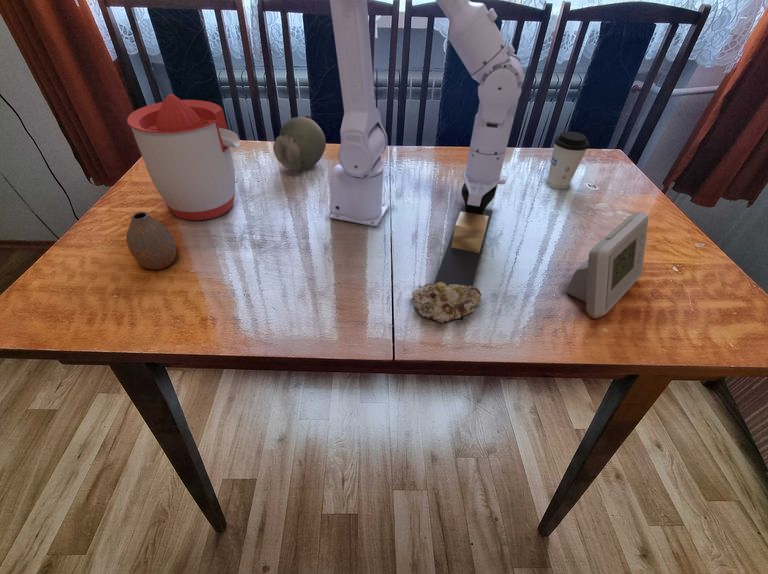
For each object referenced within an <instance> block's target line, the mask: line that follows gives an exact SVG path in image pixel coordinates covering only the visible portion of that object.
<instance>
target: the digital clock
mask: <svg viewBox="0 0 768 574" xmlns="http://www.w3.org/2000/svg"><path fill="white" fill-rule="evenodd" d="M648 226H649V216H648V215H647V214H646V213H645V212H644V211H637V212H634V213H633V214H630V215H629V216H628V217H627V218H625V219H624V220H623V221H622V222H620V223H619V224H618V225H617V226H616V227H615V228H614V229H612V230H611V231H610V232H608V234H606V235H605V236H604V237H603V238H602V239H601V240H600V241H598V243H597V244H596V245H595V246H593V248H591V249H590V250H589V253H588V259H587V260H586V261H585V262H584V263H583V264H581V266H579V267H578V268H577V269H576V270H575V271H574V273H573V275H572V277H571V279H570V281H569V283H568V286H567V288H566V291H565V292H566V294H569V295H570V296H573V297H574V298H577V299H579V300H580V301H583V302H584V303H585V305H586V306H585V309H586V313H587V315H588V316H589V317H590V318H592V319H599V318H601V317H603V316H604V317H605V315H606V314H607V313H608V312H610V310H611V309H612V308H613V307H614V306H615V305H616V304H617V303H618V301H620V299H622V297H624V295H625V294H626V293H627V292H628V291H629V290H630V288H632V287H633V285H634V284H635V283H636V282H637V281H638V280H639V279H640V278H641V277H642V273H643V270H644V269H643V268H644V261H645V252H646V243H647V236H648Z"/></svg>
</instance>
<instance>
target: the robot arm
mask: <svg viewBox="0 0 768 574" xmlns="http://www.w3.org/2000/svg"><path fill="white" fill-rule="evenodd" d="M435 2H436V4H437V5H438V7H439V8H440V9H441V11H442V12H443V14H444V15H445V17H446V18H447V20H448V21H449V27H448V28H449V29H448V35H447V39H448V41H449V42H450V44H451V46H452V48H453V49H454V50H455V52H456V54H457V56H458V57H459V59H460V60H461V62H462V64H463V66H464V67H465V68H466V70H467V72H468V74H469V75H470V77H471V78H472V79H473V80H474V81H476V82H477V83H478V84H479V85H478V86H477V95H478V97H477V98H478V100H479V103H478V109H477V113H476V114H475V117H474V123H473V128H472V133H471V139H470V144H469V149H468V154H467V155H468V156H467V161H466V167H465V171H464V172H463V176H462V178H463V181H464V183H463V185H462V187H461V191H460V192H461V196H462V199H463V202H464V206H465V212H468V213H473V214H479V215H483V212H484V210H485V209H486V208H487V207H488V205H489V204H490V202H492V201H493V200H494V197H495V195H496V191H497V189H498V185H501V186H503V185H505V184H506V182H507V176H506V175H503V174H501V172H502V168H503V164H504V159H505V156H506V151H507V147H508V145H509V140H510V135H511V132H512V127H513V124H514V116H513V115H514V114H515V113H516V107H517V104H516V103H517V102H518V100H519V99H520V97H521V94H522V86H523V81H524V77H525V75H524V73H525V72H524V67H523V64H522V59H521V58H520V57H519V56H518V55H517V54H515V52H516V50H515V48H514V46H513V44H510V45H508V43H507V42H506V40H505V38H504V37H503V34H502V33H501V31H500V30H499V29H500V28H499V27H498V26H497V24H496V23H495V21H496V20H497V18H498V14H497V13H496V11H495V9H494V8H493V7H491V8H490V9H489V10H488V8H487V6H486V4H485V3H483V2H476V1H475V2H474V1H471V0H435ZM329 6H330V13H331V21H332V29H333V36H334V41H335V42H334V43H335V51H336V58H337V67H338V74H339V75H338V76H339V81H340V89H341V90H340V91H341V97H342V106H343V116H342V122H341V127H340V131H339V133H340V134H339V135H340V145H339V148H338V152H337V153H338V154H337V157H338V158H337V159H338V162H339V163H337V164H335V166H334V167H333V168H332V171H331V174H330V182H329V183H330V184H329V187H330V188H329V189H330V203H331V205H330V206H331V214H330V218H331V219H333V220H339V221H345V222H348V223H349V222H350V223H354V224H360V225H365V226H370V227H377V226H378V225H379V224H380V222H381V221H382V218H383V217H384V216H385V214H386V212H387V211H388V209H389V205H388V204H385V203H383V187H384V163H383V161H382V155H383V154H384V153H385V152H386V150H387V148H388V134H387V132H386V130H385V129H384V126H383V123H382V117H381V116H382V115H381V113H380V111H379V109H378V108H377V106H376V97H375V83H374V71H373V60H372V47H371V33H370V23H369V22H370V21H369V10H368V9H369V8H368V0H329Z"/></svg>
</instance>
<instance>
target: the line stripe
mask: <svg viewBox="0 0 768 574" xmlns="http://www.w3.org/2000/svg"><path fill="white" fill-rule="evenodd" d="M461 211H462V212H465V204H463V205H462V207H461V210H460V212H461ZM493 211H494V210H493V209H486V208H485V210H484V212H483V215H485V216H489V217H488V221H487V225H486V229H485V234H484V238H483V241H482V245H481V249H480V252H479V253H477V252H471V251H466V250H461V249H456V248H451V246H452V241H453V235H454V230H455V227H454V228H453V231H452V234H451V236H450V239H449V241H448V244H447V247H446V249H445V252H444V255H443V257H442V260H441V263H440V266H439V268H438V271H437V274H436V277H435V279H434V282H433V284H432V285H435V284H436V283H438V282H443V283H445V284H446V286H449V285H451V284H458V285H464V286H470V285H471V286H472V287H473V285H474V280H475V278H476V274H477V270H478V267H479V263H480V259H481V255H482V252H483V248H484V244H485V240H486V237H487V233H488V230H489V226H490V223H491V218H492V215H493ZM464 317H465V316H462V317H460V318H458V319H457V320H460V321H464Z"/></svg>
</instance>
